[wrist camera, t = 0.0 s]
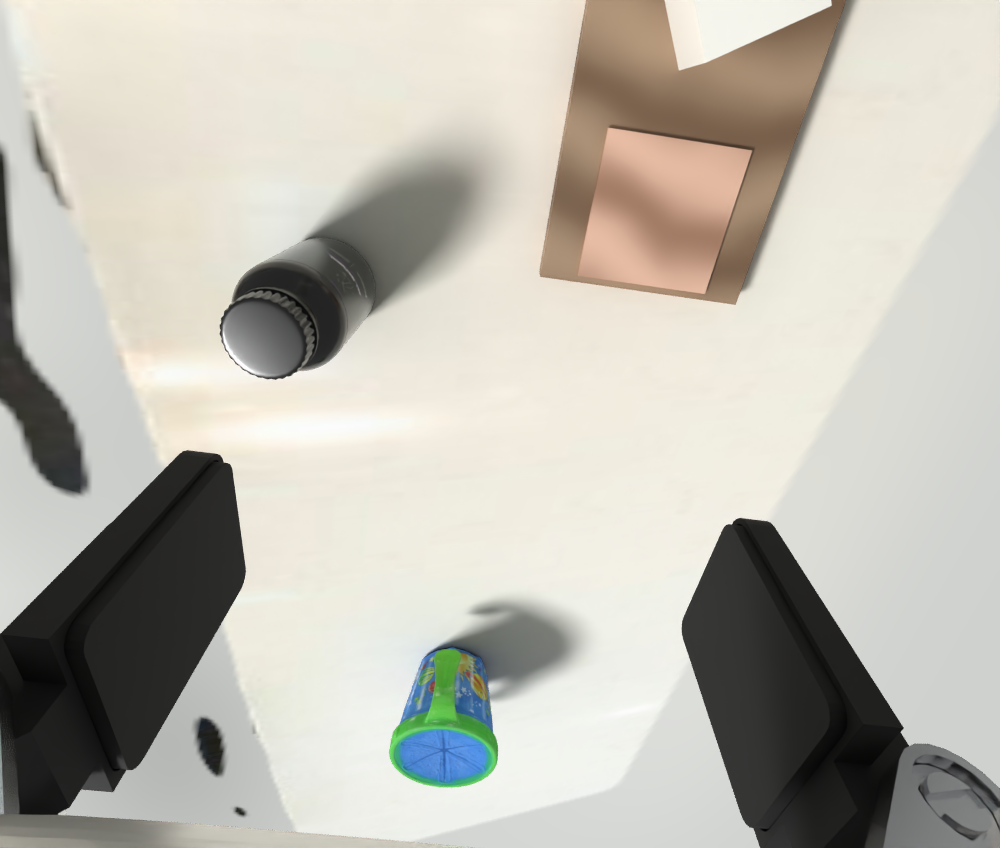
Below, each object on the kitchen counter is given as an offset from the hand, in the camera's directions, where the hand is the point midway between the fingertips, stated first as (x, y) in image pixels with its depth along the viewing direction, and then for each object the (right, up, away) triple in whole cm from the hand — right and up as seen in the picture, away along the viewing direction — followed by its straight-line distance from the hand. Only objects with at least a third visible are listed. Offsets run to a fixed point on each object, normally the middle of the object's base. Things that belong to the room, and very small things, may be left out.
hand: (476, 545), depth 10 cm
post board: (+12, +22, +23) cm, 34 cm away
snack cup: (-5, -25, +51) cm, 57 cm away
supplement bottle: (-12, +13, +29) cm, 34 cm away
